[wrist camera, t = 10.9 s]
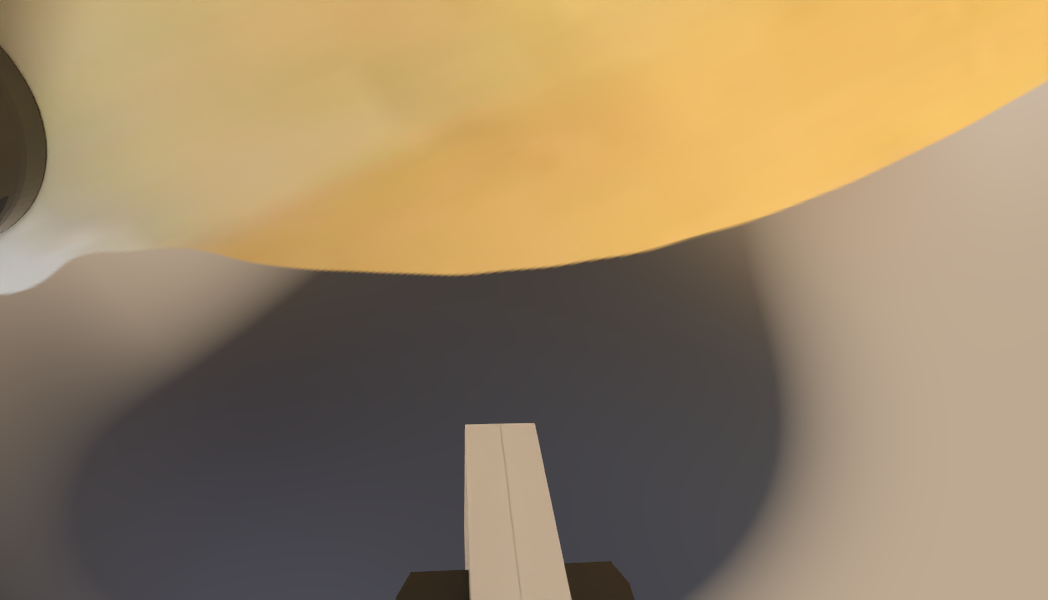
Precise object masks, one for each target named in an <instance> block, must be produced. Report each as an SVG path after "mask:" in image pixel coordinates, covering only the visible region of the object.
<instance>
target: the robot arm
mask: <svg viewBox="0 0 1048 600" xmlns="http://www.w3.org/2000/svg"><path fill="white" fill-rule="evenodd" d="M45 159H46V148H45V137H44V130H43V126H42V121H41V118H40V114H39V111H38V108H37V106H36V103H35V101H34V98H33V96H32V94H31V92H30V90H29V88H28V86H27V84H26V82H25V80H24V79H23V77H22V75H21V74H20V72H19V71H18V69H17V68H16V66H15V65H14V64H13V62H12V61H11V60H10V58H9V57H8V56H7V54H6V53H5V52H4V51H3V50H2V49H1V47H0V233H2V232H3V231H5V230H6V229H8V228H9V227H11V226H12V225H13V224H14V223H16V222H17V221H18V220H19V219H20V218H21V217H22V216H23V215H24V214H25V212H26V211H27V210H28V209H29V207H30V206H31V204H32V203H33V201H34V199H35V197H36V195H37V193H38V191H39V188H40V185H41V182H42V179H43V174H44V169H45ZM464 509H465V512H464V520H465V521H464V532H465V570H450V571H429V572H411V573H410V575H409V577H408V578H407V580H406V582H405V583H404V585H403V587H402V588H401V590H400V592H399V593H398V595H397V597H396V600H634V597H633V594H632V591H631V588H630V584H629V583H628V582H627V580H626V579H625V578H624V577H623V576H622V574H621V573H620V572H619V571H618V570H617V568H616V567H615V566H614V565H613V564H612V562H610V561H609V562H587V563H566V564H564V561H563V557H562V552H561V547H560V542H559V537H558V533H557V528H556V523H555V519H554V514H553V509H552V504H551V499H550V495H549V490H548V485H547V480H546V475H545V471H544V466H543V461H542V457H541V452H540V447H539V442H538V437H537V432H536V428H535V423H525V424H524V423H519V424H478V425H477V424H474V425H473V424H472V425H465V508H464Z"/></svg>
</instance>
